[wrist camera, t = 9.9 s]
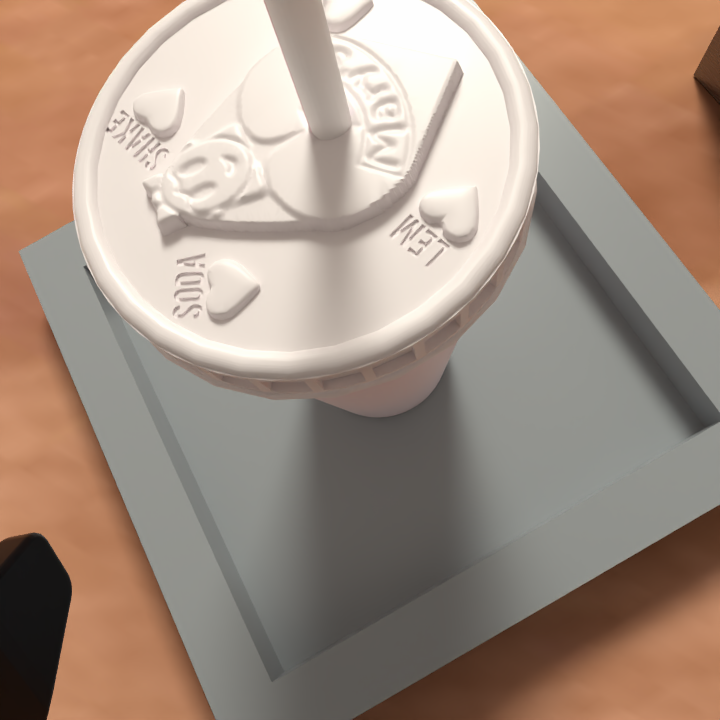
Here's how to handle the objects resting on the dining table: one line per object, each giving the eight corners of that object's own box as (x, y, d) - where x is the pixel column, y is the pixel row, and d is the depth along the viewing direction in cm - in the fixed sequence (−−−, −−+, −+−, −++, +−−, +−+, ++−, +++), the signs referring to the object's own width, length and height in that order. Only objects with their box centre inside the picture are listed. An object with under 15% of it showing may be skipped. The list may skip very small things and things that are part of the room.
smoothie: (541, 408, 17) (880, -120, 3) (314, 509, 17) (-238, 393, 3) (436, 207, 19) (383, -641, 5) (233, 299, 19) (-323, -296, 5)
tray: (785, 452, 16) (824, 442, 15) (264, 757, 16) (242, 783, 14) (469, 42, 21) (471, -3, 19) (54, 275, 20) (18, 251, 19)
